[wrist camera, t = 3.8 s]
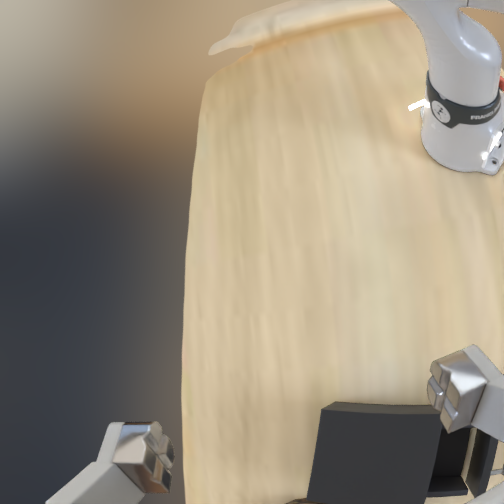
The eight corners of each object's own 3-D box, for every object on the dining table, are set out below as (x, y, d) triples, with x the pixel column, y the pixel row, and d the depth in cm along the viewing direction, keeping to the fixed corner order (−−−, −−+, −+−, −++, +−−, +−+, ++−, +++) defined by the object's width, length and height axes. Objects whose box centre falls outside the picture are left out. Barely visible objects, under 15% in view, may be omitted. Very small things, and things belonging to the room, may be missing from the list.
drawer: (512, 404, 29) (530, 409, 23) (497, 478, 26) (511, 493, 19) (398, 409, 37) (398, 417, 31) (384, 483, 33) (381, 502, 27)
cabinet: (434, 404, 36) (443, 413, 28) (419, 485, 32) (422, 509, 24) (334, 401, 42) (321, 409, 34) (322, 479, 38) (305, 500, 30)
